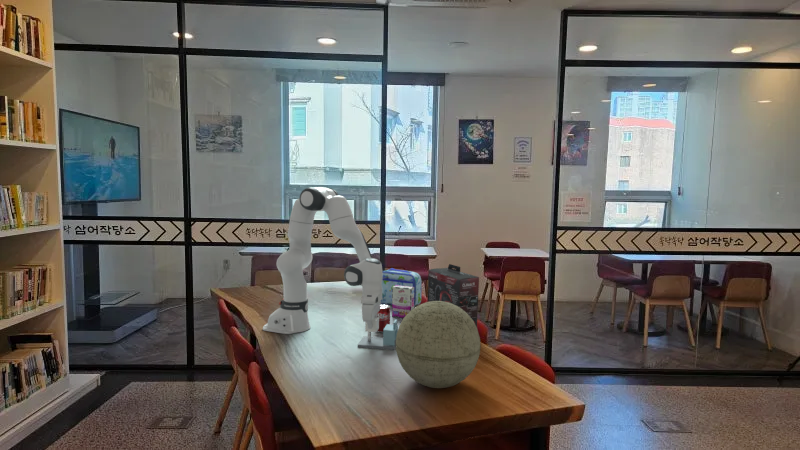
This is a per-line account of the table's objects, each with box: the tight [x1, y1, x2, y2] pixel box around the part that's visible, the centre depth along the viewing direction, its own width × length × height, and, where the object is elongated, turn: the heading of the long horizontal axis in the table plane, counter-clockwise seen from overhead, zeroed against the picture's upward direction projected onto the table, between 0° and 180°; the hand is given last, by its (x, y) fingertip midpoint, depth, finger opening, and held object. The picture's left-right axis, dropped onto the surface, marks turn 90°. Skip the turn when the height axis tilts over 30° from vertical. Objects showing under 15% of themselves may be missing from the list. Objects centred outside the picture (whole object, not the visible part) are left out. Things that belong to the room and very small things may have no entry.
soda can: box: [376, 304, 391, 334], centre depth 222 cm, size 7×7×12 cm
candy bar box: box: [391, 285, 415, 319], centre depth 246 cm, size 11×5×16 cm, turn 68°
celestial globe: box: [395, 301, 481, 389], centre depth 163 cm, size 30×30×30 cm
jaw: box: [364, 317, 379, 333], centre depth 204 cm, size 5×5×5 cm
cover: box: [382, 319, 399, 346], centre depth 202 cm, size 5×8×10 cm, turn 171°
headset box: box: [427, 263, 480, 328], centre depth 219 cm, size 25×12×33 cm, turn 32°
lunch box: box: [380, 267, 423, 307], centre depth 269 cm, size 26×11×21 cm, turn 58°
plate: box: [357, 332, 396, 351], centre depth 204 cm, size 16×11×5 cm
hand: (371, 325), depth 204 cm, fingers closed on jaw, 5 cm apart
